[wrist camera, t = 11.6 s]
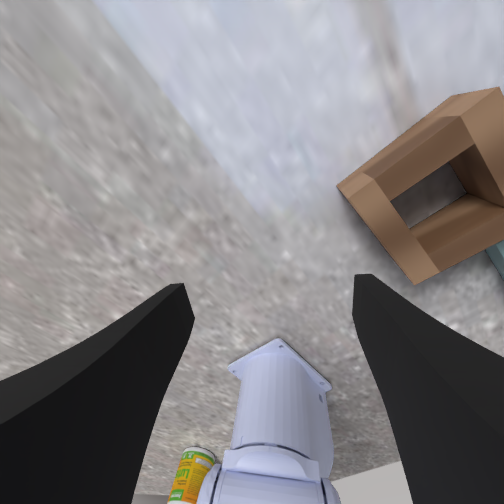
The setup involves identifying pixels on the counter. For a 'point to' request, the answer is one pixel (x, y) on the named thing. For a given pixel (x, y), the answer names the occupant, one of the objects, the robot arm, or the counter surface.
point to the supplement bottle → (191, 475)
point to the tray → (497, 256)
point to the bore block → (424, 163)
